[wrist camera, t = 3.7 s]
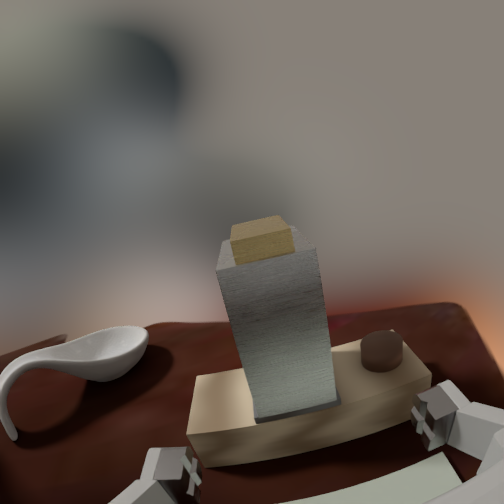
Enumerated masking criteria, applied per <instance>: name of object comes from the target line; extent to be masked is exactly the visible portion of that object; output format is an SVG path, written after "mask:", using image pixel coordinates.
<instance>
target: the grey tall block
mask: <svg viewBox="0 0 504 504" xmlns="http://www.w3.org/2000/svg"><path fill="white" fill-rule="evenodd" d="M216 274H217V278H218V281H219V285H220V289H221V292H222V296H223V300H224V303H225V307H226V310H227V314H228V317H229V321H230V325H231V328H232V332H233V335H234V338H235V342H236V345H237V349H238V352H239V356H240V359H241V362H242V366H243V369H244V372H245V376H246V379H247V382H248V386H249V389H250V392H251V395H252V399H253V402H254V405H255V408H256V411H257V414H258V418H263V417H268V416H273V415H278V414H283V413H287V412H292V411H296V410H301V409H305V408H309V407H313V406H317V405H321V404H325V403H328V402H332V401H336V400H337V398H336V388H335V379H334V370H333V362H332V354H331V346H330V338H329V330H328V323H327V316H326V309H325V302H324V296H323V289H322V283H321V277H320V271H319V265H318V259H317V253H316V248H315V247H314V246H313V245H312V244H311V243H310V242H309V241H308V240H307V239H306V238H305V237H304V236H303V235H302V234H301V233H300V232H299V231H298V230H297V229H296V228H295V227H294V226H293V225H292V226H288V225H287V224H286V223H285V221H284V220H282V218H281V217H280V216H279V215H276V216H271V217H267V218H262V219H258V220H253V221H249V222H245V223H240V224H236V225H232V230H231V238H230V240H225V241H223V242H222V246H221V251H220V255H219V259H218V263H217V267H216Z"/></svg>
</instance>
